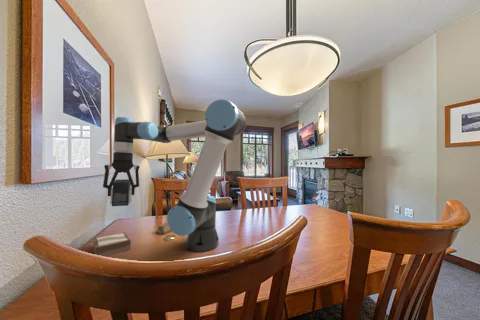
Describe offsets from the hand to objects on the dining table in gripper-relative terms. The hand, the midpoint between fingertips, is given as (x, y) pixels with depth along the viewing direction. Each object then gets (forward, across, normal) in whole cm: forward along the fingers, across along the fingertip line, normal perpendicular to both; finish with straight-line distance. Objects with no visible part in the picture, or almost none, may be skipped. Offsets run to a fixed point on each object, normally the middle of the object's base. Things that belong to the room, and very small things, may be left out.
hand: (121, 202), depth 86 cm
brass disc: (+19, -22, +1) cm, 29 cm away
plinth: (+20, +3, +2) cm, 20 cm away
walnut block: (+20, -20, -9) cm, 30 cm away
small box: (+1, 0, 0) cm, 1 cm away
